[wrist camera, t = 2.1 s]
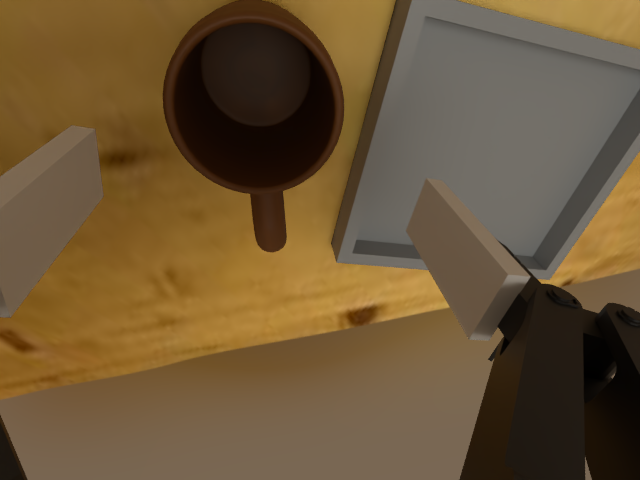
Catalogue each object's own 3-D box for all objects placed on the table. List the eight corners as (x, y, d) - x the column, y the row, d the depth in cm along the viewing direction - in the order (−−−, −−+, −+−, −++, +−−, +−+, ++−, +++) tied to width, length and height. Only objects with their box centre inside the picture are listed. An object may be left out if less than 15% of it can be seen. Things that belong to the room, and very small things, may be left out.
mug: (320, 186, 28) (344, 264, 20) (217, 194, 27) (201, 278, 19) (317, -4, 21) (351, 3, 13) (179, -1, 20) (131, 9, 13)
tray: (331, 243, 31) (336, 262, 29) (399, -12, 21) (414, -11, 19) (532, 262, 36) (549, 279, 33) (663, 58, 26) (699, 65, 24)
